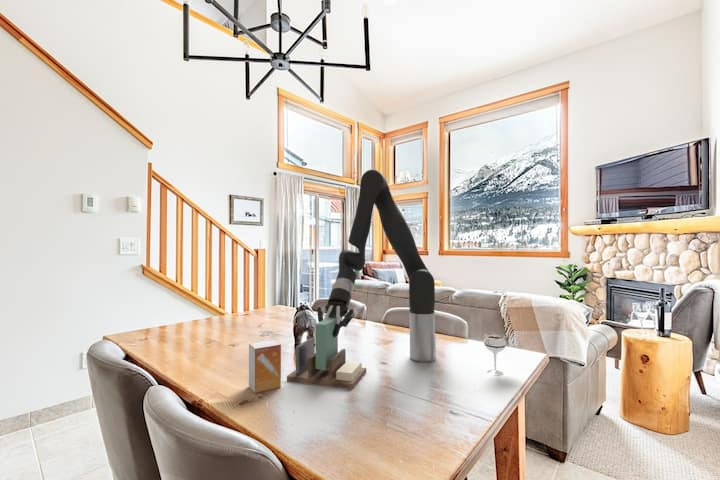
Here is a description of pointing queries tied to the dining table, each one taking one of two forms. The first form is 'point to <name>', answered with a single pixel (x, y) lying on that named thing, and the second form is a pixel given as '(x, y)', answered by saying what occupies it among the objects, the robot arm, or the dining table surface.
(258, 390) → the small box
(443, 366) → the dining table surface
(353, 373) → the toppled book
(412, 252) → the robot arm
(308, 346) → the bookend
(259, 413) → the dining table surface
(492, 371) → the wineglass
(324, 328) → the book
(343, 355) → the book rack
